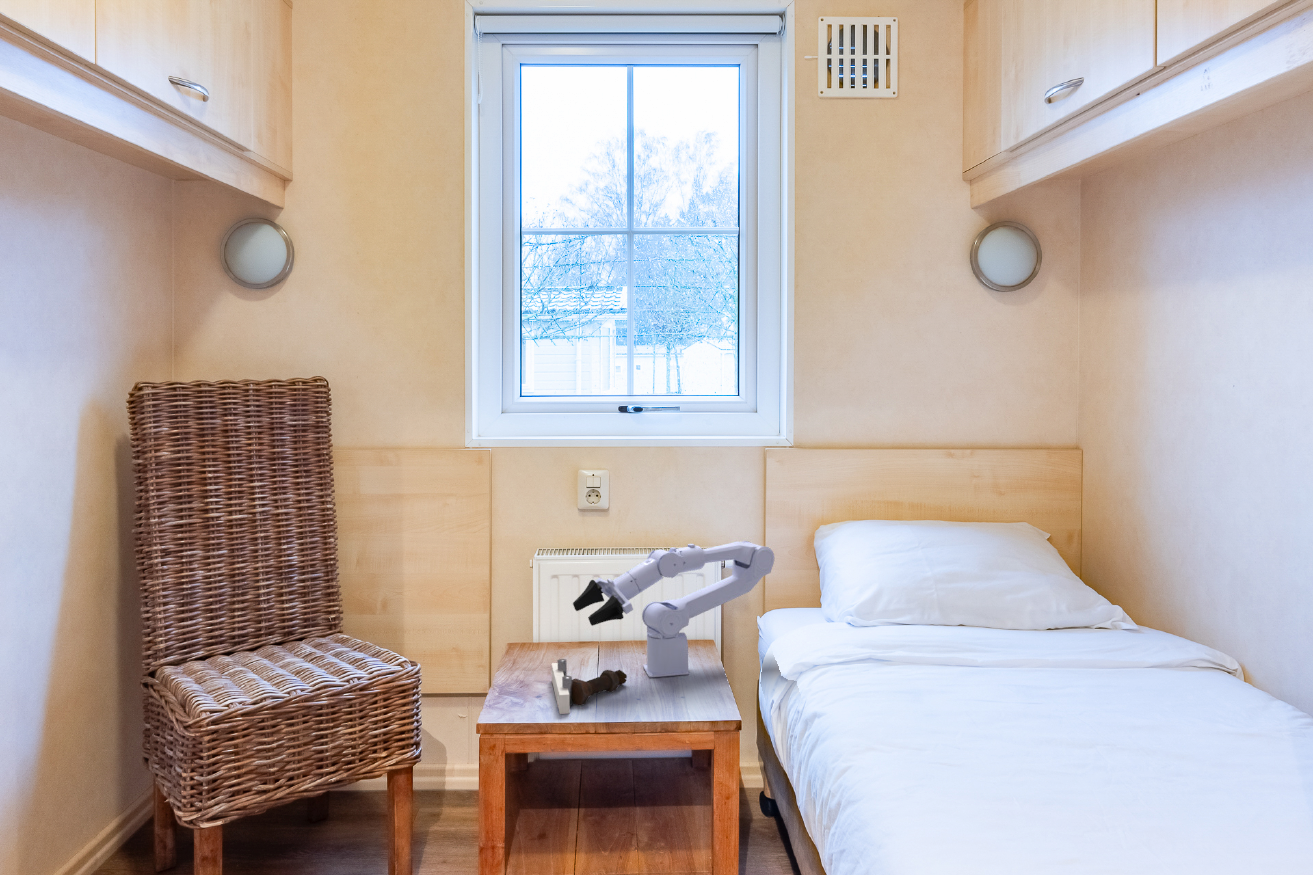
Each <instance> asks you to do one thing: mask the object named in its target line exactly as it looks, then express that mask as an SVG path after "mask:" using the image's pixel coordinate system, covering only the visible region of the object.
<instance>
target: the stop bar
mask: <svg viewBox="0 0 1313 875" xmlns="http://www.w3.org/2000/svg"><path fill="white" fill-rule="evenodd" d="M567 670H568V668H567V659H565V658H561V659H560V658H559V659H557V662H552V663H551V681H552V682H551V683H552V688H553V690H554V695H555V699H556V703H557V708H558V713H559V715H565V714H567V715H568V714H570V713H571V712H570V711H571V710H570V709H571V708H570V707H572V706H573V703H572V679H573V676H571V675H568V674H567V673H568V671H567Z"/></svg>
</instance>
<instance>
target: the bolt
mask: <svg viewBox="0 0 1313 875" xmlns="http://www.w3.org/2000/svg"><path fill="white" fill-rule="evenodd" d="M627 678H628V674H626V673H625V672H624V671H622V670H621V669H618V670H615V671H614V670H611V669H605V670H603V671H602V672H601V674H600V676H598V677H594V678H592V679H589V680H586V681H584V680H581V679H578V678H572V705H576V706H579V707H580V706H581V707H582V706H584V705H586V704H587V702H588V700H589V697H591V696H595V695H597V694H601V692H608V693H613V692H615V691H616V690H618V688H619V686H621V685H624V684H625V683H626V682H627Z"/></svg>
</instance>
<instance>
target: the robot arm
mask: <svg viewBox="0 0 1313 875" xmlns="http://www.w3.org/2000/svg"><path fill="white" fill-rule="evenodd" d="M731 560H732V570H731V575H730V576H728V577H725V578H723V579H721V580H718V581H717V582H713V583H712V584H709V585H707V586H705V587H702V588H700V589H698V590H695V591H693V592H691V593H689V594H687V595H683V596H682V597H679V598H675V599H672V598H671V599H665V600H663V601H651V602H649V603H647V604H646V605H645V606H644V608H643V610H642V613H641V619H642V623H644V625H645V626H646V658H647V659H646V664H644V663H643V665H642V667H643V669H644V671H645V673H646V674H647V676H648V677H649V678H660V677H672V676H674V677H675V676H684V675H689V674H690V671H689V643H688V638H687V635H686V633H685V632H681V631H682V629H684V628H686V627H687V626H689V624H690V619H692V618H695V617H697V616H698V615H702V614H704V613H705V612H708V611H711V610H713V609H715V608H716V607H719V606H721V605H724V604H726V603H728V602H730V601H732V600H735V599H737V598H739V597H741V596H743V595H746V594H748V593H750V592H751V591H752V590H753V589H754V587H755V586H757V584H758V583H759V582H760V581H761V580H762V578H763V577H765V576H767V575H769V574H771V572H772V569H773V567H774V565H775V563H774V562H775V553H774V551H773V550H772V549H771V548H770V547H768V546H765V545H759V544H756V543H754V542H753V543H752V542H750V541H748V540H742V541H734V542H730V543H726V544H722V545H721V544H720V545H717V546H712V547H707V548H702V547H700V545H695V544H694V543H688V544H687V546H684V547H678V548H676V547H674V546H673V547H670V548H669V550H664V549H656V550H655V549H652V550H651V551H650V552H649V554H648V556H647V558H646V559H645V560H643V561H642V562H640V563H637V565H635V566H634V567H632V568H630V569H629V570H628V571H626V572H624V573H623V574H621V575H619V576H617V577H616V578H615V579H613V580H612V579H611V578H610V577H609V578H608V579H602V577H598V578H597V579H595V580H594V579H591V580H589V582H588V585H587V586H586V587H585V589H584V591H583V592H582V593H581V594H580V595H579V596H578V597H577V598H576V599H575V600H574V601H573V603H572V605H573V608H574V610H575V611H576V612H579V611H582V610H583V609H585V608H588V607H589V606H591V605H594V604H597V603H602V602H605V599H604V596H603V595H605V596H606V597H607V598H608V599H607V601H606V602H605V603H604V604H603V605H602V606H600V607H599V608H598V609H597V610H595V611H594V612H593V613H591V614H590V615H589V616H588V621H589V623H590V626H592V627H593V626H596V625H599V624H601V623H605V622H608V621H613V620H614V621H616V620H623V619H624V614H625V615H627V614H629V613H630V612H633V611H634V608H633V605H632V602H630V600H631V599H633V598H634V597H637V595H639V594H640V593H642V592H643V591H645V590H647V589H648V588H650V587H651V586H653V585H655V584H657V583H658V582H659V581H661V580H663V579H664V578H671V579H673V578H675V577H676V576H678V574H680V573H685V572H686V573H687V572H691V571H693V572H694V571H697V570H702V569H703V567H704V566H705V564H707V563H716V562H717V563H718V562H724V561H731Z"/></svg>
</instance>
